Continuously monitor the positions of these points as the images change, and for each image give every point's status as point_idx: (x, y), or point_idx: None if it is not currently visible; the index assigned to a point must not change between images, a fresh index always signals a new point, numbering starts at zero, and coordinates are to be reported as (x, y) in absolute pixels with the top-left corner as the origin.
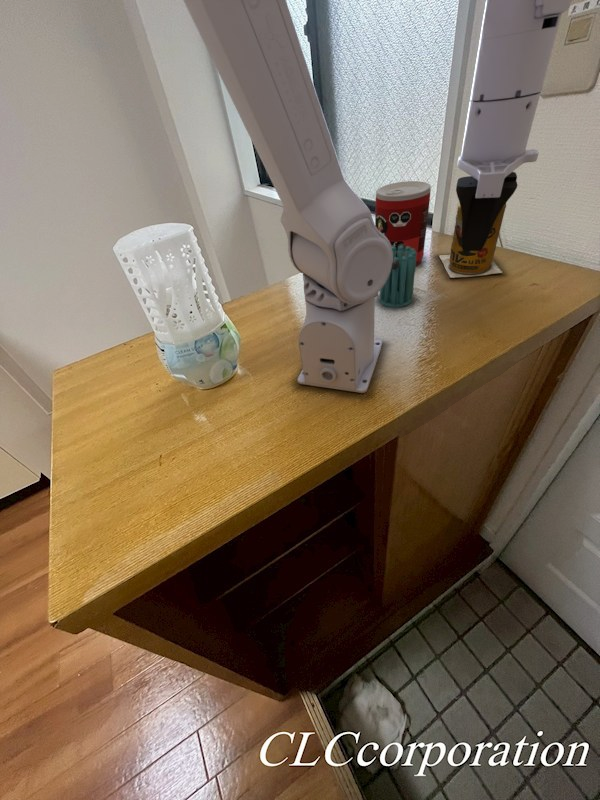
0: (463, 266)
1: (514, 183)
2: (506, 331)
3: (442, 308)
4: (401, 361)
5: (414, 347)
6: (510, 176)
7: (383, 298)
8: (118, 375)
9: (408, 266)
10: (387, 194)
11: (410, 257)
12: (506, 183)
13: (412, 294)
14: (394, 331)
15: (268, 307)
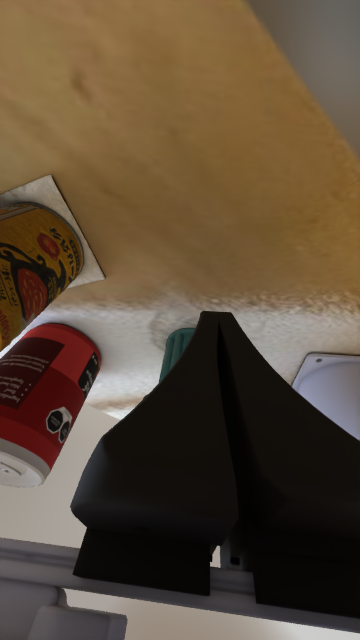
0: (76, 266)
1: (341, 510)
2: (303, 175)
3: (213, 287)
4: (355, 330)
5: (324, 318)
6: (215, 527)
7: None
8: None
9: None
10: (21, 474)
11: None
12: (314, 523)
13: (191, 335)
14: (277, 341)
15: None
